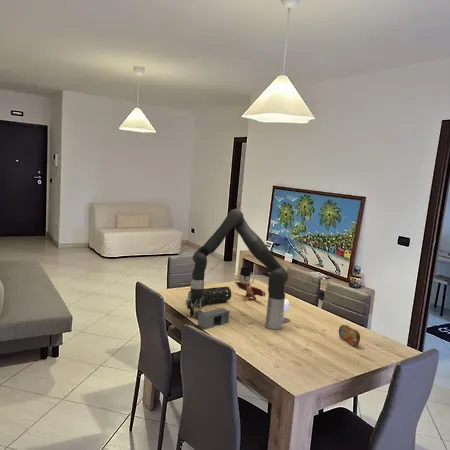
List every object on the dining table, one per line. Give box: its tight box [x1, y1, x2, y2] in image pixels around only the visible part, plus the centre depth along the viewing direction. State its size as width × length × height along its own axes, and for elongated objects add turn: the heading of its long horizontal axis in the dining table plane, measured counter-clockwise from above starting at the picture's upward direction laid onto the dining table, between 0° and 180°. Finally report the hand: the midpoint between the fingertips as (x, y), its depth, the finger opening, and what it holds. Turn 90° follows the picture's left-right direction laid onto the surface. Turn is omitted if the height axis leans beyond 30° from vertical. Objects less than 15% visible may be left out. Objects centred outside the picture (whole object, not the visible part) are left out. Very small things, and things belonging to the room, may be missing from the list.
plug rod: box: [191, 306, 204, 320], centre depth 235 cm, size 16×4×4 cm, turn 46°
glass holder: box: [237, 267, 256, 291], centre depth 306 cm, size 9×14×15 cm, turn 40°
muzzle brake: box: [187, 286, 232, 304], centre depth 265 cm, size 10×28×10 cm, turn 123°
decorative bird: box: [234, 277, 267, 302], centre depth 278 cm, size 28×18×15 cm, turn 42°
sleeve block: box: [197, 307, 230, 330], centre depth 228 cm, size 6×18×7 cm, turn 135°
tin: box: [338, 324, 361, 347], centre depth 219 cm, size 15×3×8 cm, turn 21°
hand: (195, 315), depth 239 cm, fingers closed on plug rod, 4 cm apart
